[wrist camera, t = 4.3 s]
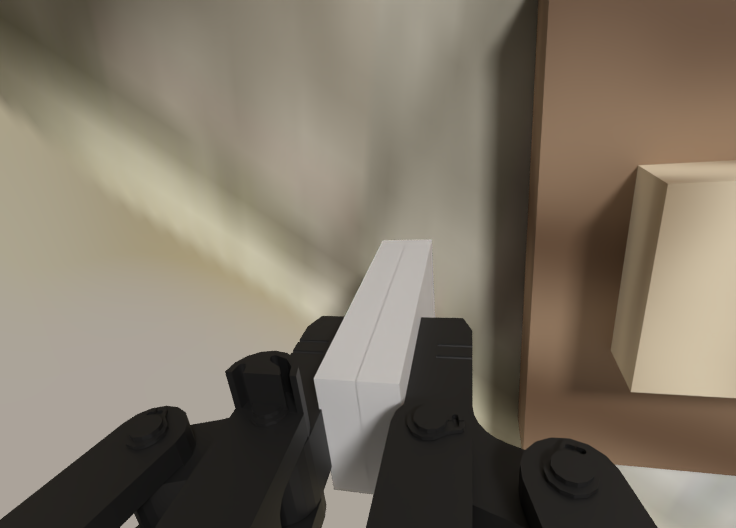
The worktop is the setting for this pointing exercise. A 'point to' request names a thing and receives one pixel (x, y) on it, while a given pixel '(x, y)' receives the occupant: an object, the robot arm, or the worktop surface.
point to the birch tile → (680, 282)
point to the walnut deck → (615, 215)
